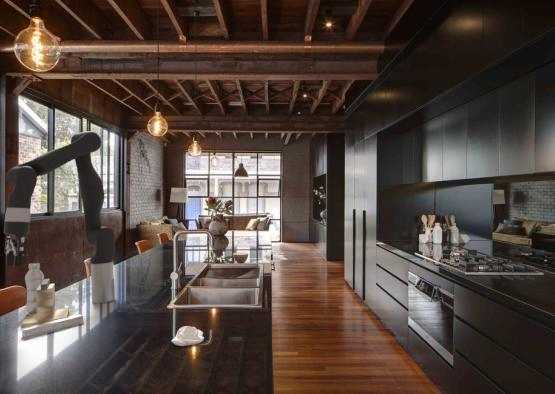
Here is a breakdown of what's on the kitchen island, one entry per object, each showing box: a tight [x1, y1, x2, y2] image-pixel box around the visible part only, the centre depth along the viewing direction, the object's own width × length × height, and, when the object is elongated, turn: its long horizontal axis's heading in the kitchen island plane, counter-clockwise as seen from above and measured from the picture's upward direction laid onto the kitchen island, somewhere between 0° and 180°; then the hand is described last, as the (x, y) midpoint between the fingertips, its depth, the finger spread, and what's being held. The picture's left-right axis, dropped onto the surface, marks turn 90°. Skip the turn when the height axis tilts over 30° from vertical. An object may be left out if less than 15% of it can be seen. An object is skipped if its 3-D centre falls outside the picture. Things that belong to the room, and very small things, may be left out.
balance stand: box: [20, 278, 70, 329], centre depth 138 cm, size 14×14×14 cm
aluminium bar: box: [21, 314, 84, 339], centre depth 127 cm, size 18×3×3 cm, turn 139°
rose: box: [171, 325, 205, 347], centre depth 111 cm, size 10×4×10 cm
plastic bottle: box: [24, 262, 45, 314], centre depth 149 cm, size 6×7×20 cm
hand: (13, 266), depth 130 cm, fingers open, 8 cm apart
